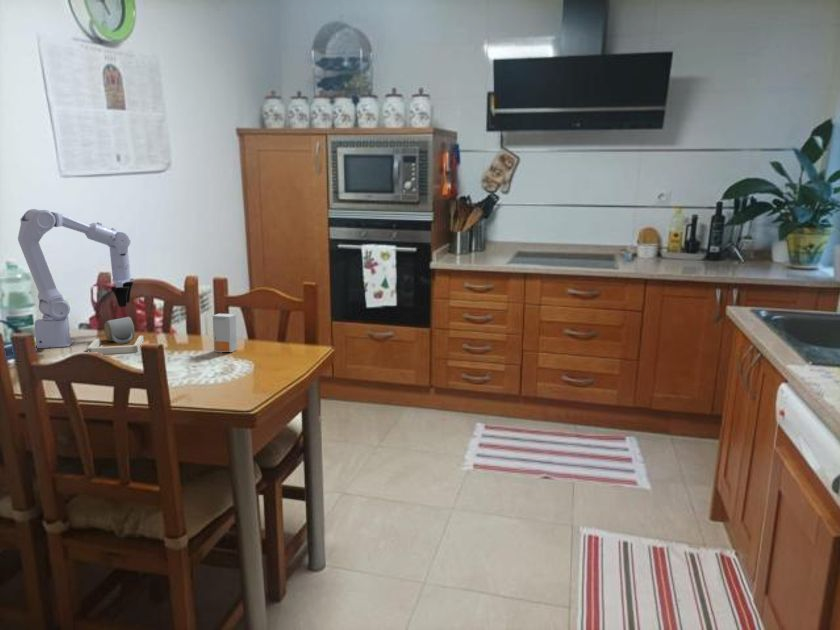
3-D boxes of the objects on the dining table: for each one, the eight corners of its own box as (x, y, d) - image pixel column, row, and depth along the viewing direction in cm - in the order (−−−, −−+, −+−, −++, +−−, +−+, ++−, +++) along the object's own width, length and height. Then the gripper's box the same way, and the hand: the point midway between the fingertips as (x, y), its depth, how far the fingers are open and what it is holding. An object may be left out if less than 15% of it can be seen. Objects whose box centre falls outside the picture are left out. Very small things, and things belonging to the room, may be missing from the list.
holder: (87, 354, 196) (86, 348, 195) (96, 343, 210) (96, 337, 210) (137, 352, 200) (137, 345, 199) (143, 341, 214) (143, 335, 214)
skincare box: (213, 352, 201) (211, 315, 198) (220, 349, 205) (219, 313, 202) (230, 353, 199) (229, 316, 197) (237, 350, 203) (236, 314, 201)
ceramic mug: (104, 339, 216) (102, 317, 214) (129, 336, 221) (127, 314, 219) (112, 346, 208) (110, 323, 206) (138, 342, 213) (137, 320, 211)
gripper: (129, 268, 214) (133, 307, 217) (135, 263, 228) (139, 300, 230) (107, 269, 212) (111, 308, 215) (114, 264, 226) (118, 301, 228)
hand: (124, 304), depth 223 cm, fingers open, 7 cm apart
